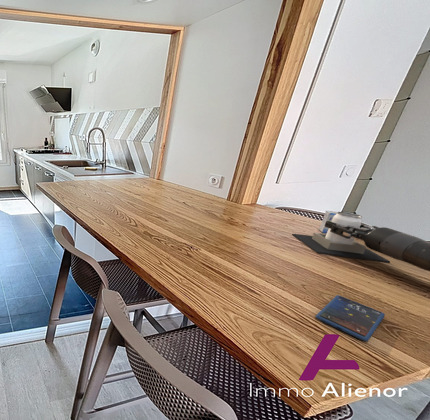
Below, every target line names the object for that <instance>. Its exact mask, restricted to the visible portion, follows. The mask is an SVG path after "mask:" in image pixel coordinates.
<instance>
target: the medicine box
mask: <svg viewBox="0 0 430 420" xmlns="http://www.w3.org/2000/svg"><path fill="white" fill-rule="evenodd" d="M337 212H338V211H332V210H325V213H324V214H323V217H322V220H321V223H320V225H319V228H318V230H319V231H320V233H323V234H327V231H328V229H329V228H327V227H325V223H326V221H331V222H332V219H333V217H334V216H335V215H336V214H337Z"/></svg>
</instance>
